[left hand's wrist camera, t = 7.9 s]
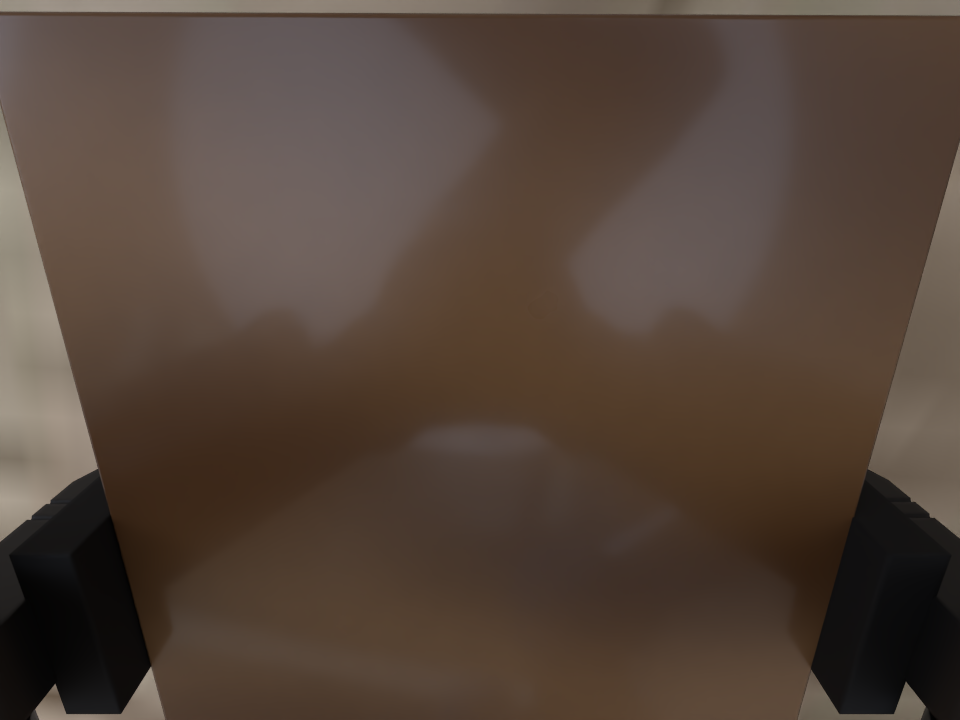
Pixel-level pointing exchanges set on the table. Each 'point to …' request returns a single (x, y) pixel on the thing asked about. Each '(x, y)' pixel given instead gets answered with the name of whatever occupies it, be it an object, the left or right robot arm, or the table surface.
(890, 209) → the narrow beam
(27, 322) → the table surface
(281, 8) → the table surface
